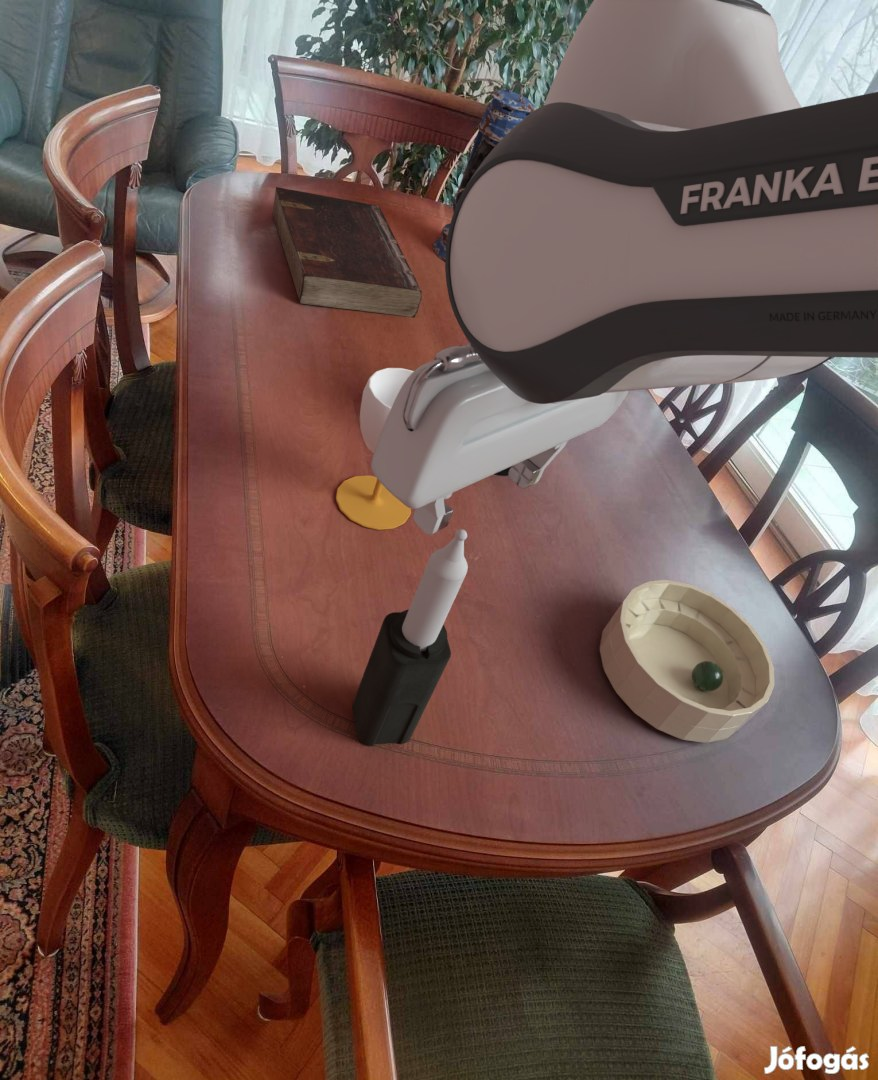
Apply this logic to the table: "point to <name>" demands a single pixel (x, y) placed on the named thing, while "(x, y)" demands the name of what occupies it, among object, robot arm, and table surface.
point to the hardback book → (344, 254)
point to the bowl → (685, 661)
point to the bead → (707, 676)
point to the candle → (410, 653)
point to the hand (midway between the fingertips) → (477, 501)
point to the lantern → (489, 140)
